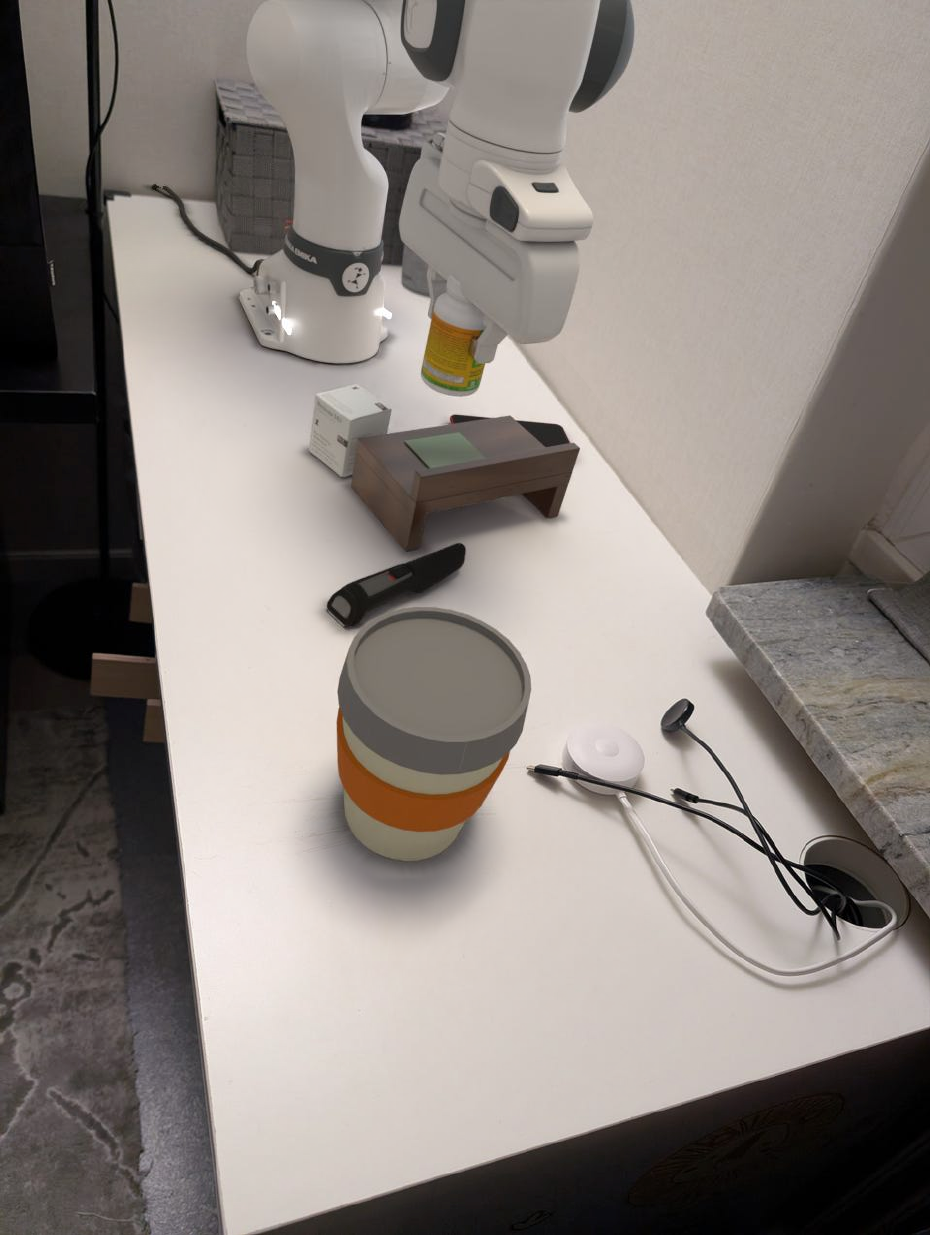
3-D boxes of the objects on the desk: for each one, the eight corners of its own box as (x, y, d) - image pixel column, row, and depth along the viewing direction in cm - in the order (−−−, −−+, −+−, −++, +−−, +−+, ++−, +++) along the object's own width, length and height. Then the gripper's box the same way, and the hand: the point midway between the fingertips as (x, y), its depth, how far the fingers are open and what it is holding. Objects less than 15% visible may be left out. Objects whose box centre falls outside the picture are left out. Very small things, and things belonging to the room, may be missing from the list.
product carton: (307, 452, 100) (313, 393, 95) (348, 438, 104) (356, 381, 99) (342, 479, 98) (350, 420, 93) (383, 464, 101) (393, 407, 97)
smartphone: (577, 455, 110) (459, 445, 106) (575, 461, 111) (458, 452, 106) (561, 424, 115) (449, 413, 111) (559, 430, 116) (447, 419, 112)
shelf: (350, 486, 97) (361, 412, 91) (498, 459, 107) (516, 391, 102) (406, 551, 90) (421, 477, 85) (557, 516, 101) (580, 448, 95)
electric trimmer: (470, 578, 90) (477, 553, 88) (348, 632, 80) (353, 605, 78) (445, 557, 91) (451, 532, 89) (323, 607, 82) (326, 581, 80)
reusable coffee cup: (399, 719, 74) (431, 580, 64) (518, 814, 69) (572, 679, 59) (283, 803, 65) (299, 658, 56) (409, 918, 61) (451, 781, 51)
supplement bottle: (472, 405, 78) (498, 298, 72) (413, 386, 78) (434, 279, 72) (483, 378, 82) (510, 275, 76) (427, 361, 82) (449, 257, 76)
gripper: (396, 122, 72) (371, 287, 82) (540, 228, 61) (493, 405, 70) (460, 126, 76) (429, 284, 85) (609, 227, 65) (555, 397, 74)
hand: (459, 340), depth 78 cm, fingers closed on supplement bottle, 5 cm apart
